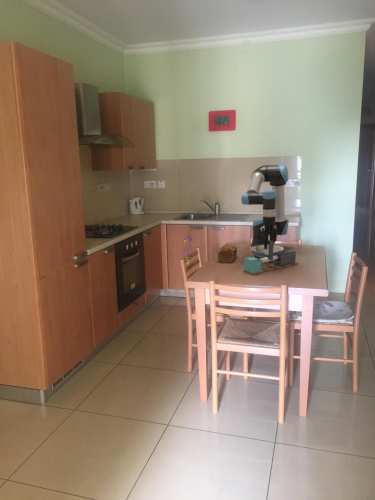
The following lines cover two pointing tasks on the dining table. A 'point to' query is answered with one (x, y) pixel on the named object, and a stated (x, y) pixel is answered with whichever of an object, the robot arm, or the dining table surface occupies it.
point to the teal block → (252, 265)
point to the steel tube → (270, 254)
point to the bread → (227, 253)
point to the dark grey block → (285, 257)
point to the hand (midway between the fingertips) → (268, 253)
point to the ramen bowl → (260, 250)
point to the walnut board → (270, 268)
